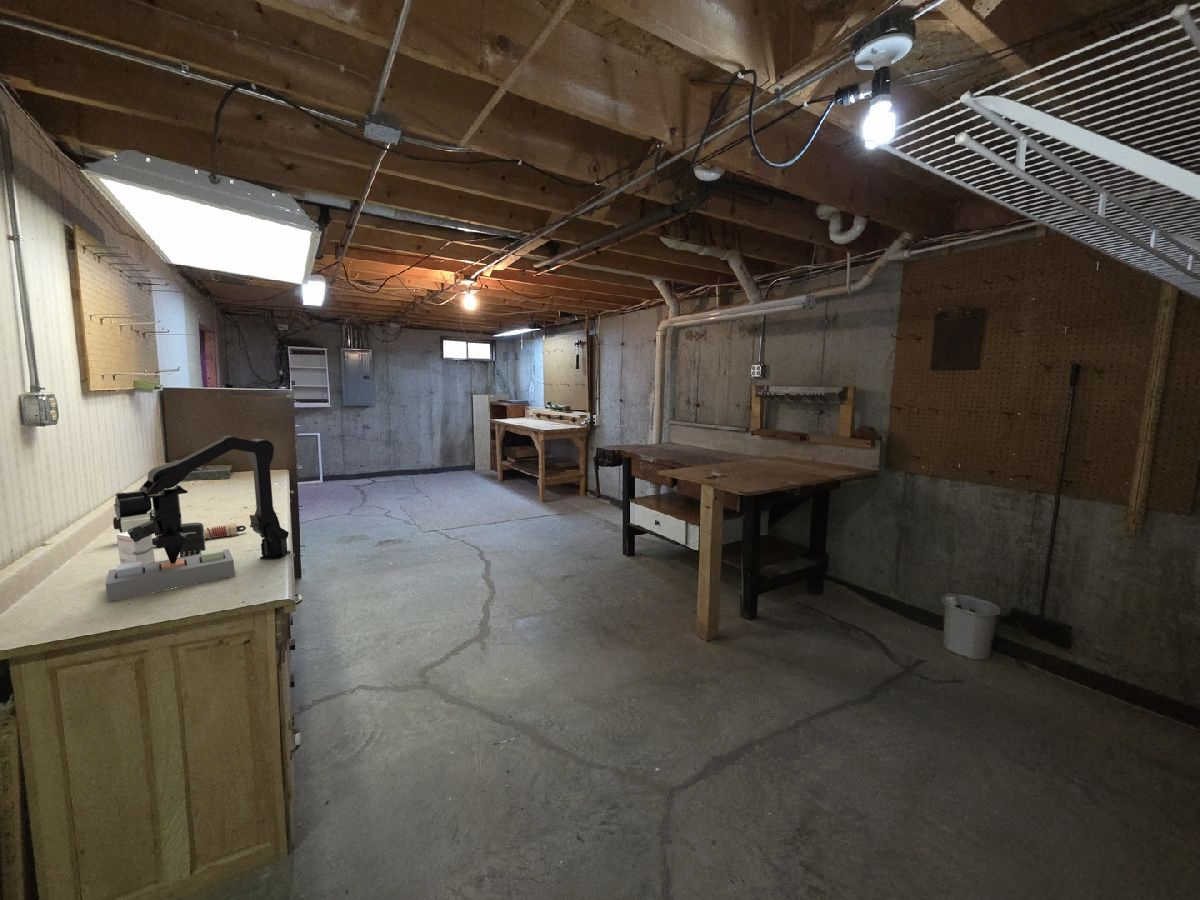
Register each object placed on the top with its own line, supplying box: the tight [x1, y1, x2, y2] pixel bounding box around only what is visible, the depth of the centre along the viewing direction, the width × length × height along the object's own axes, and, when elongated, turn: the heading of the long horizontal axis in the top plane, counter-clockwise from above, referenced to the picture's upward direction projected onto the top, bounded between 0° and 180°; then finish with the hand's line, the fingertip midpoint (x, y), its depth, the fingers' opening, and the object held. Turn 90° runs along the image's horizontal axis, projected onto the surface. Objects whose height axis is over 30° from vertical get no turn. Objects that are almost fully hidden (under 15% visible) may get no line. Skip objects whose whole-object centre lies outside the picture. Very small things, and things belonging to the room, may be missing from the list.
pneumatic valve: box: [112, 509, 154, 534], centre depth 175 cm, size 6×12×12 cm, turn 127°
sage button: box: [201, 547, 224, 562], centre depth 147 cm, size 5×5×4 cm
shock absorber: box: [152, 522, 247, 546], centre depth 177 cm, size 5×5×30 cm
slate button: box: [116, 561, 143, 578], centre depth 135 cm, size 5×5×4 cm
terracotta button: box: [161, 559, 185, 570], centre depth 141 cm, size 5×5×4 cm
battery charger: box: [179, 521, 207, 558], centre depth 161 cm, size 7×4×11 cm, turn 120°
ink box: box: [116, 532, 156, 565], centre depth 149 cm, size 9×5×12 cm, turn 71°
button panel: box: [105, 548, 236, 603], centre depth 141 cm, size 27×13×5 cm, turn 133°
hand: (173, 562), depth 141 cm, fingers closed, pressing on terracotta button
